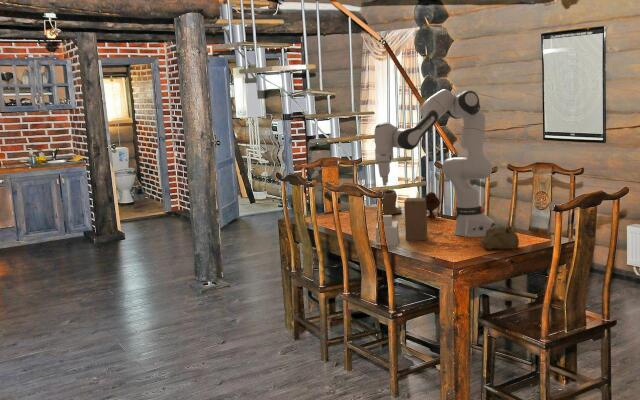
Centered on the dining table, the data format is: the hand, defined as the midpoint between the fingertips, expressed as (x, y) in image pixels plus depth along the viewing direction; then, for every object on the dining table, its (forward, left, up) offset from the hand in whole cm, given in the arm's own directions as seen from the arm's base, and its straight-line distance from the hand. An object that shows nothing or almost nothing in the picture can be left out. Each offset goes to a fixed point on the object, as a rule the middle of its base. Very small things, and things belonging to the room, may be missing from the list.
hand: (385, 184), depth 343 cm
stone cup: (+3, -72, -29) cm, 78 cm away
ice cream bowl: (-21, -59, -29) cm, 69 cm away
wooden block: (-14, -6, -29) cm, 33 cm away
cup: (0, 0, -29) cm, 29 cm away
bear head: (-52, +18, -30) cm, 63 cm away
